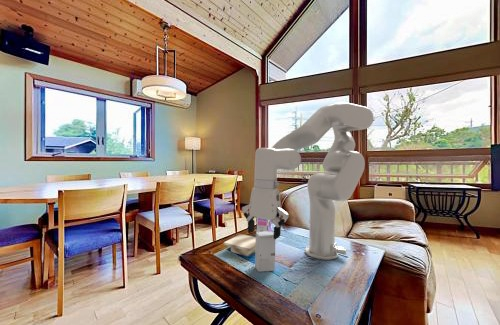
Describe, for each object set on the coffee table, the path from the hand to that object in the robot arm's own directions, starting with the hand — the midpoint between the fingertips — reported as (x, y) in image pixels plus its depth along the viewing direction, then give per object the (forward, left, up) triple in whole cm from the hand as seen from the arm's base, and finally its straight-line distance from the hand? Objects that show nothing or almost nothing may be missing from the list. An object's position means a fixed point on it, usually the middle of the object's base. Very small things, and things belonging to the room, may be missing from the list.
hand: (263, 235), depth 81 cm
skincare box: (0, -1, -12) cm, 12 cm away
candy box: (+17, -32, -12) cm, 38 cm away
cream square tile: (+14, -10, -12) cm, 20 cm away
